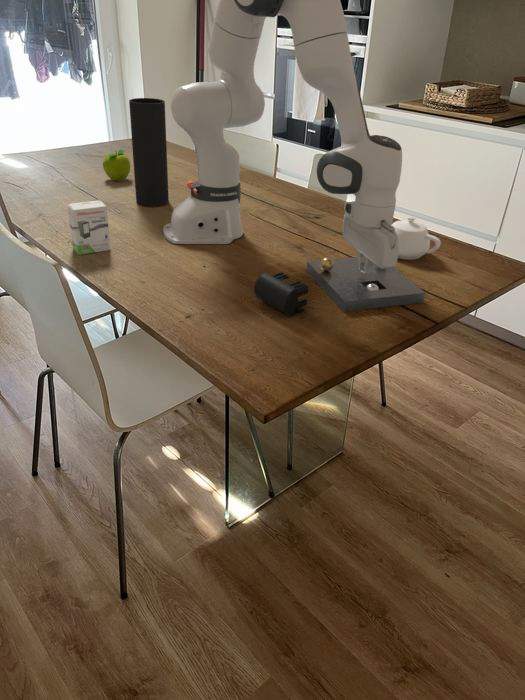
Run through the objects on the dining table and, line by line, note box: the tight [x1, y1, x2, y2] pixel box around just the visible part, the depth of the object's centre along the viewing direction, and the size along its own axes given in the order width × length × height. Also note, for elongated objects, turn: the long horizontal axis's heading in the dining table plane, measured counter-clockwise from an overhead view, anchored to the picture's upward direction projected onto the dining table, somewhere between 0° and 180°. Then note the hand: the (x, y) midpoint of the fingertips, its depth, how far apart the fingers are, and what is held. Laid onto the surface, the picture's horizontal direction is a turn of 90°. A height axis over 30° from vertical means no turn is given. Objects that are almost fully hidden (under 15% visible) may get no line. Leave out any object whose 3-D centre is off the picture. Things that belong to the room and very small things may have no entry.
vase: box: [128, 97, 170, 208], centre depth 172 cm, size 10×10×30 cm
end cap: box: [253, 271, 309, 317], centre depth 121 cm, size 10×7×7 cm
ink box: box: [67, 200, 111, 256], centre depth 142 cm, size 9×5×12 cm, turn 122°
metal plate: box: [306, 256, 426, 313], centre depth 134 cm, size 20×22×2 cm
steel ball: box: [366, 284, 379, 291], centre depth 129 cm, size 3×3×3 cm
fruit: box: [102, 149, 131, 182], centre depth 196 cm, size 9×9×10 cm
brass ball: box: [320, 257, 334, 271], centre depth 134 cm, size 3×3×3 cm
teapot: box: [391, 215, 442, 261], centre depth 151 cm, size 20×12×10 cm, turn 45°
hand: (364, 271), depth 132 cm, fingers closed
